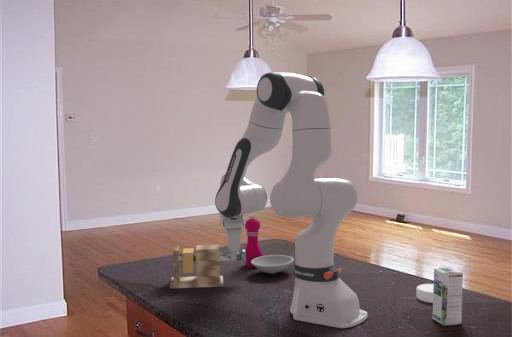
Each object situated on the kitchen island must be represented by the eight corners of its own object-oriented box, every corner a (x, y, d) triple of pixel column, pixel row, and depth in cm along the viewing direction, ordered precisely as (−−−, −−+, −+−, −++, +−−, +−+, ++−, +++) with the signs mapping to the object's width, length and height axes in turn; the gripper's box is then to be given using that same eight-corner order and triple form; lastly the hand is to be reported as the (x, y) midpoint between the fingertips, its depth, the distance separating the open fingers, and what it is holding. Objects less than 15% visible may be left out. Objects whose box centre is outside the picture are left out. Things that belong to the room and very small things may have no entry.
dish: (273, 282, 187) (273, 268, 187) (242, 275, 196) (242, 262, 196) (302, 271, 201) (302, 258, 200) (272, 265, 210) (272, 252, 209)
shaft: (245, 261, 190) (245, 247, 190) (246, 264, 186) (245, 251, 185) (174, 263, 189) (174, 249, 188) (173, 267, 184) (173, 253, 183)
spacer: (194, 267, 190) (193, 248, 190) (193, 273, 183) (192, 252, 183) (184, 268, 190) (183, 248, 190) (183, 273, 183) (182, 253, 183)
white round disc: (435, 306, 162) (435, 294, 161) (409, 297, 170) (409, 286, 170) (456, 300, 167) (457, 289, 166) (431, 291, 175) (431, 281, 175)
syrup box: (431, 318, 150) (432, 267, 149) (450, 317, 152) (451, 266, 151) (443, 326, 145) (444, 273, 144) (462, 324, 146) (463, 271, 145)
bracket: (222, 278, 193) (222, 243, 192) (223, 286, 183) (222, 250, 182) (172, 279, 192) (171, 245, 191) (169, 288, 182) (168, 251, 181)
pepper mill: (260, 268, 206) (259, 216, 204) (242, 267, 207) (241, 216, 206) (263, 263, 213) (263, 213, 211) (246, 262, 214) (245, 213, 213)
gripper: (223, 214, 197) (223, 251, 198) (224, 224, 176) (225, 266, 177) (240, 214, 197) (241, 251, 198) (243, 224, 177) (244, 265, 178)
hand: (233, 258), depth 188 cm, fingers closed on shaft, 3 cm apart
